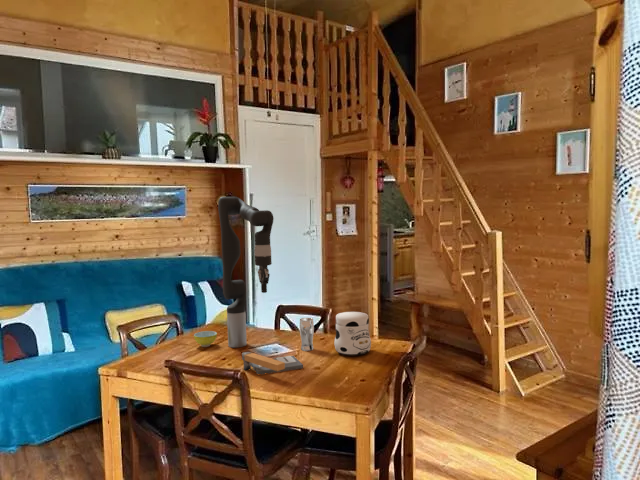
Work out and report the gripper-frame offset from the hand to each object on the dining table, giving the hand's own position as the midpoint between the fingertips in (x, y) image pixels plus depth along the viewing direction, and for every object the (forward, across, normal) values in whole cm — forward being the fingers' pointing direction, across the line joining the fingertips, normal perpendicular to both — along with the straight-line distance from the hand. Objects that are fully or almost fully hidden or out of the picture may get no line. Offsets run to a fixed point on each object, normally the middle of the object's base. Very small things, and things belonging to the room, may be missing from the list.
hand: (264, 292), depth 220 cm
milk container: (+31, +8, +40) cm, 51 cm away
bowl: (+31, -34, -23) cm, 52 cm away
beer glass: (+31, -6, +22) cm, 39 cm away
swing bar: (+26, +19, -7) cm, 33 cm away
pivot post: (+31, +10, -11) cm, 34 cm away
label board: (+31, +12, +2) cm, 33 cm away
